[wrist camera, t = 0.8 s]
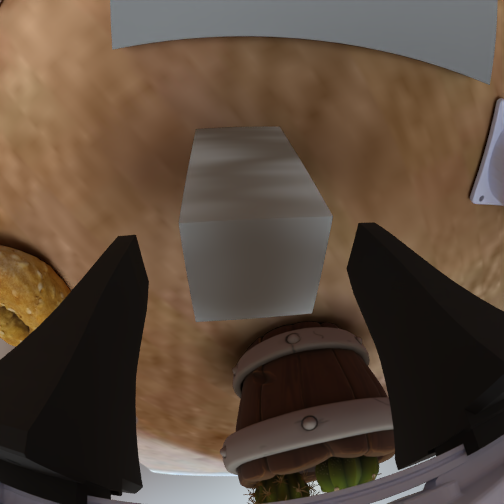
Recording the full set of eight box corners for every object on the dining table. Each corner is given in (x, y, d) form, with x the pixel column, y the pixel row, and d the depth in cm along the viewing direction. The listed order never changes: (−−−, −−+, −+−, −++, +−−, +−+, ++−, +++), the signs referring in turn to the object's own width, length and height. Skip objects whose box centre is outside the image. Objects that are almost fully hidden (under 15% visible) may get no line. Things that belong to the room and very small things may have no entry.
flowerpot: (386, 280, 22) (480, 530, 7) (358, 372, 32) (402, 530, 17) (196, 314, 22) (211, 600, 7) (232, 395, 32) (251, 563, 17)
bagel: (0, 320, 21) (-16, 360, 18) (-38, 225, 15) (-70, 268, 11) (88, 337, 24) (78, 384, 20) (66, 237, 17) (40, 291, 14)
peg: (279, 126, 14) (332, 216, 8) (275, 197, 17) (312, 313, 11) (195, 129, 14) (178, 223, 8) (201, 200, 16) (195, 321, 10)
